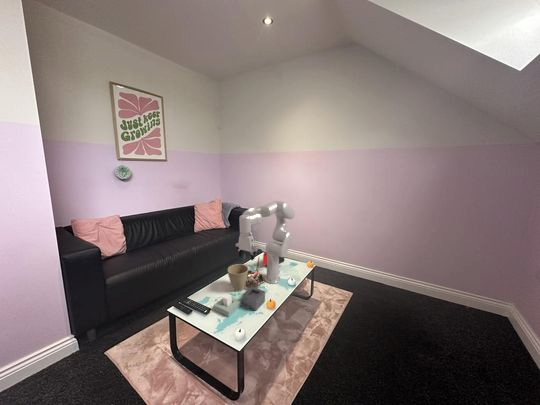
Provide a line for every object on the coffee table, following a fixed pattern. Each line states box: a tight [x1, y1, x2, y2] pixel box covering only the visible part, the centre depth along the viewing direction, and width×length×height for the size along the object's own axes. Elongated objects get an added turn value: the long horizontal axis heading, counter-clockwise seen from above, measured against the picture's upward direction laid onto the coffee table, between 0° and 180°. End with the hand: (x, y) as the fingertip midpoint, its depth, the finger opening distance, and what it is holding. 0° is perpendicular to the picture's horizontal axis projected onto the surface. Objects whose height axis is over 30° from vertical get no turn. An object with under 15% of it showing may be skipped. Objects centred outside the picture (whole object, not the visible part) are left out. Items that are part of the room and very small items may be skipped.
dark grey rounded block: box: [241, 286, 266, 312], centre depth 136 cm, size 11×11×8 cm
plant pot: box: [227, 263, 249, 292], centre depth 152 cm, size 15×15×16 cm
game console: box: [262, 252, 286, 268], centre depth 191 cm, size 28×6×15 cm, turn 136°
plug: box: [222, 293, 233, 307], centre depth 132 cm, size 4×3×7 cm
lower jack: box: [213, 296, 242, 318], centre depth 132 cm, size 12×12×4 cm
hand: (246, 257), depth 137 cm, fingers open, 9 cm apart
